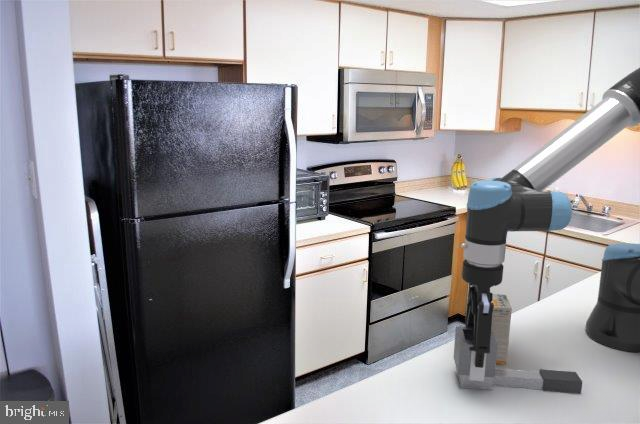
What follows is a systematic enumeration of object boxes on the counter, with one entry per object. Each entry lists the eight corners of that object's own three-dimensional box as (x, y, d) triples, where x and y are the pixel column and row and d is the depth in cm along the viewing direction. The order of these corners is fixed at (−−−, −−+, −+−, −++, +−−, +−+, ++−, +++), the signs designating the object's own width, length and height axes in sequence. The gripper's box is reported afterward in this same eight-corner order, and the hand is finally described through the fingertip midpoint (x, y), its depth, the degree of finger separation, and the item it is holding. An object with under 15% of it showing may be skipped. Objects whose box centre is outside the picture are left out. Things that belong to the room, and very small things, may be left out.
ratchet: (572, 380, 105) (576, 347, 103) (583, 397, 99) (587, 362, 97) (456, 371, 108) (459, 339, 106) (460, 387, 102) (463, 353, 100)
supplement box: (507, 365, 111) (513, 308, 108) (484, 363, 112) (489, 306, 109) (502, 347, 118) (507, 294, 116) (480, 345, 119) (484, 292, 117)
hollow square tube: (488, 359, 107) (490, 328, 105) (494, 377, 100) (497, 344, 99) (453, 357, 108) (455, 326, 106) (457, 374, 101) (460, 342, 99)
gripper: (456, 245, 109) (449, 344, 114) (470, 278, 90) (460, 395, 95) (493, 247, 108) (483, 347, 113) (515, 280, 89) (502, 399, 94)
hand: (473, 369), depth 104 cm, fingers closed on hollow square tube, 7 cm apart
